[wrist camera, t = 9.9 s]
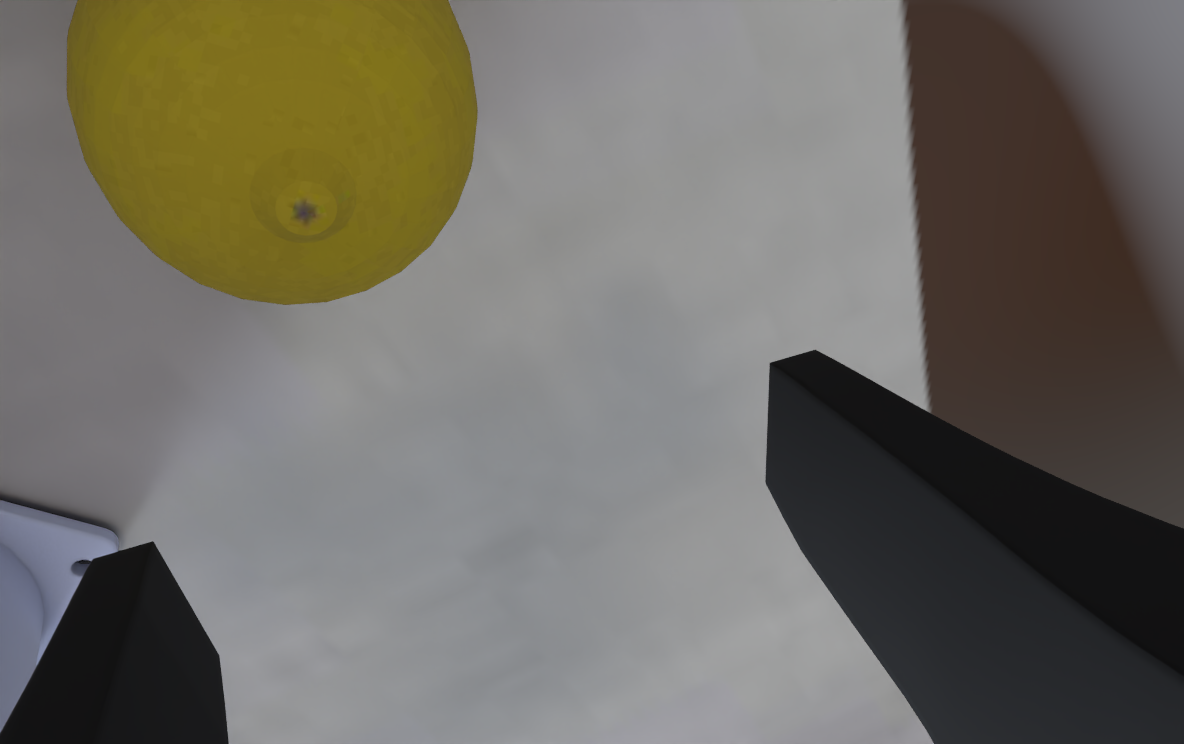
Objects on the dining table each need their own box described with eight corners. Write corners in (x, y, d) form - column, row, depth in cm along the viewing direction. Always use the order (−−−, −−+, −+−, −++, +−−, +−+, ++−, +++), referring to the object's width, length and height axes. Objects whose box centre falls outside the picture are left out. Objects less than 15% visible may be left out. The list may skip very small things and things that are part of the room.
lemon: (42, -147, 14) (-74, -22, 8) (402, -167, 16) (529, -71, 10) (148, 183, 18) (122, 447, 12) (437, 143, 19) (548, 360, 13)
